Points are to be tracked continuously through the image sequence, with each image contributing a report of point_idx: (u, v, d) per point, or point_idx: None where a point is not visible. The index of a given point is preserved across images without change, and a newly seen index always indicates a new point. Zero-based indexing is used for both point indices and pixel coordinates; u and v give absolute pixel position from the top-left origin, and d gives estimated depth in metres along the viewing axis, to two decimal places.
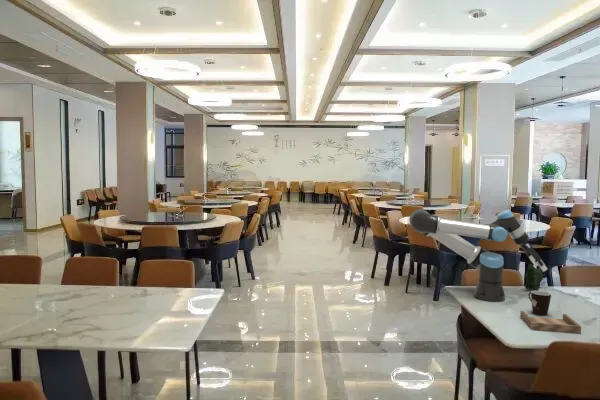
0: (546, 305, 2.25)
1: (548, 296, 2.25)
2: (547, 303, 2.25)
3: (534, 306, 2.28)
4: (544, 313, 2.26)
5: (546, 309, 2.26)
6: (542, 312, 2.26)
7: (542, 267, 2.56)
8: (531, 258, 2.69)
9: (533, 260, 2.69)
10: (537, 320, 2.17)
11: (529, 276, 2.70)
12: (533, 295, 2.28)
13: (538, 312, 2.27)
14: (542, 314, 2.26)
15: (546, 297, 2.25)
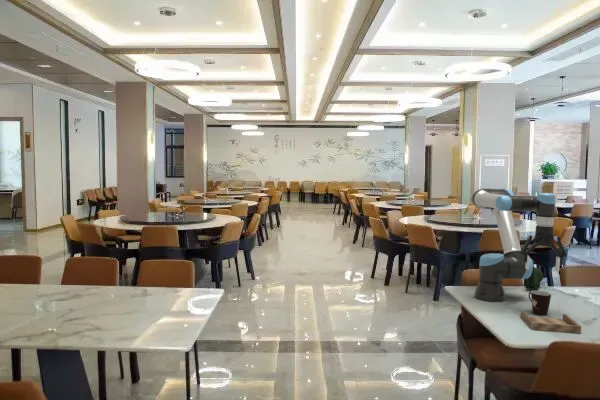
0: (546, 305, 2.25)
1: (548, 296, 2.25)
2: (547, 303, 2.25)
3: (534, 306, 2.28)
4: (544, 313, 2.26)
5: (546, 309, 2.26)
6: (542, 312, 2.26)
7: (525, 264, 2.31)
8: (556, 259, 2.29)
9: (556, 263, 2.29)
10: (537, 320, 2.17)
11: None
12: (533, 295, 2.28)
13: (538, 312, 2.27)
14: (542, 314, 2.26)
15: (546, 297, 2.25)
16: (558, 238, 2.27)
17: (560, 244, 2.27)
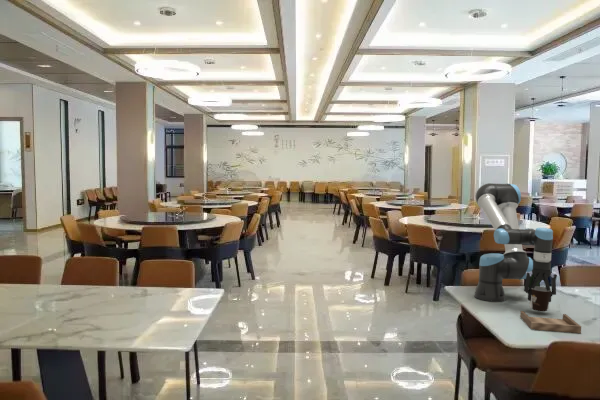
0: (546, 301, 2.26)
1: (548, 292, 2.25)
2: (547, 299, 2.26)
3: (534, 302, 2.28)
4: (544, 309, 2.27)
5: (546, 305, 2.26)
6: (541, 308, 2.26)
7: (530, 302, 2.32)
8: None
9: None
10: (537, 320, 2.17)
11: None
12: (533, 291, 2.28)
13: (538, 307, 2.27)
14: (542, 310, 2.27)
15: (546, 293, 2.25)
16: (555, 276, 2.28)
17: (554, 282, 2.28)
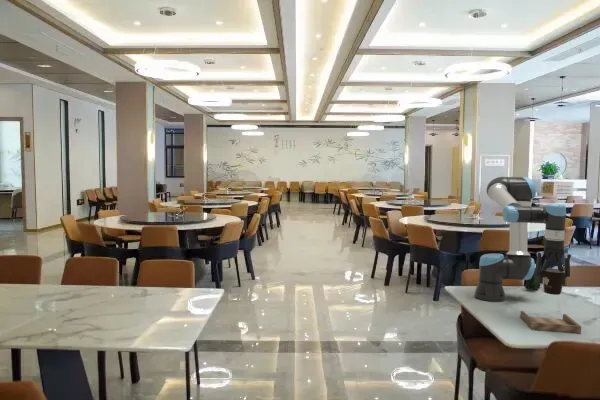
0: (559, 283, 2.06)
1: (561, 273, 2.06)
2: (560, 281, 2.06)
3: (546, 284, 2.09)
4: (557, 292, 2.07)
5: (559, 287, 2.07)
6: (554, 290, 2.07)
7: (541, 285, 2.13)
8: None
9: None
10: (537, 320, 2.17)
11: None
12: (545, 272, 2.09)
13: (551, 290, 2.07)
14: (555, 293, 2.07)
15: (560, 275, 2.05)
16: (568, 256, 2.08)
17: (568, 262, 2.08)
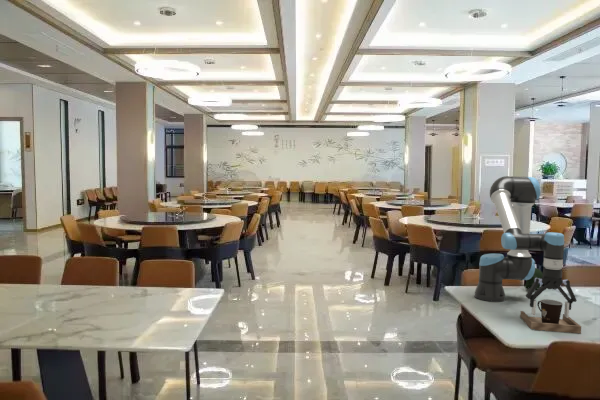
0: (557, 315, 2.07)
1: (559, 306, 2.07)
2: (558, 313, 2.07)
3: (544, 316, 2.10)
4: None
5: (557, 320, 2.08)
6: (552, 323, 2.08)
7: (532, 308, 2.14)
8: (565, 305, 2.11)
9: (565, 308, 2.11)
10: (537, 320, 2.17)
11: None
12: (543, 304, 2.10)
13: None
14: None
15: (557, 307, 2.07)
16: (567, 282, 2.09)
17: (569, 288, 2.09)
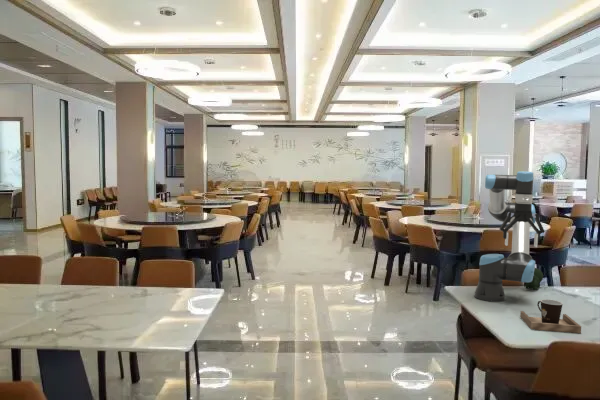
0: (557, 315, 2.07)
1: (559, 306, 2.07)
2: (558, 313, 2.07)
3: (544, 316, 2.10)
4: None
5: (557, 320, 2.08)
6: (552, 323, 2.08)
7: (505, 240, 2.39)
8: (535, 236, 2.36)
9: (535, 239, 2.36)
10: (537, 320, 2.17)
11: None
12: (543, 304, 2.10)
13: None
14: None
15: (557, 307, 2.07)
16: (536, 215, 2.34)
17: (538, 221, 2.34)
